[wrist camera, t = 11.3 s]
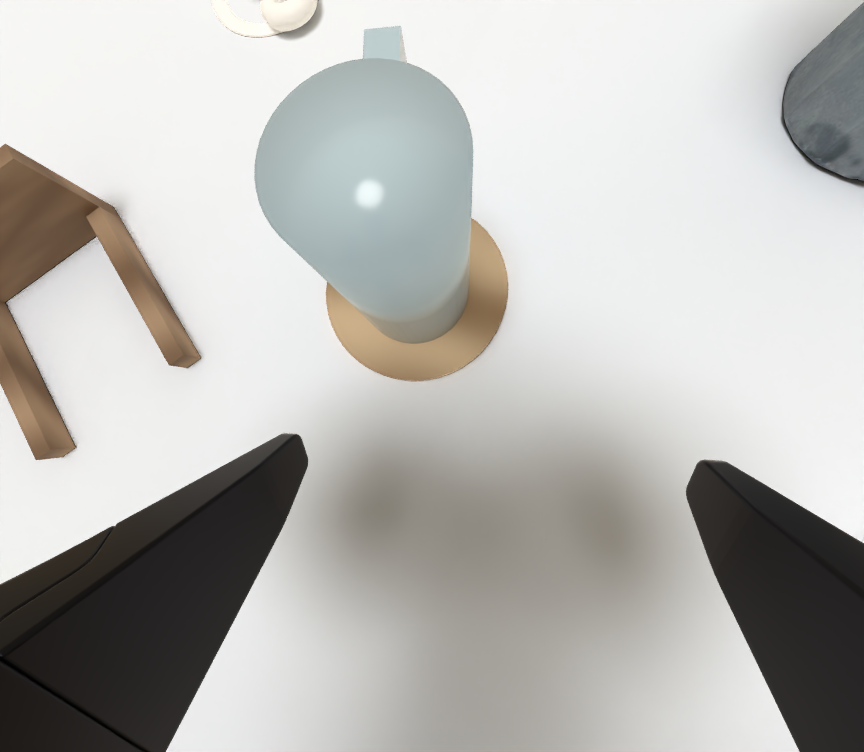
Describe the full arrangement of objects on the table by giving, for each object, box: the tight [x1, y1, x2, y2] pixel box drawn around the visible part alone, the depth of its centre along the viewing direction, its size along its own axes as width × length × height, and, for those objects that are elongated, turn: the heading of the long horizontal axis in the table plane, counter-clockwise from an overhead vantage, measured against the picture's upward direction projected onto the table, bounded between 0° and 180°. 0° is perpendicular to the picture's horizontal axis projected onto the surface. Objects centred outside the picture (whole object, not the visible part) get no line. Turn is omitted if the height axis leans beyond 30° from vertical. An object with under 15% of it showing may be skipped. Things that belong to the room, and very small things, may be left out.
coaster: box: [326, 218, 508, 381], centre depth 18 cm, size 10×10×1 cm
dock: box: [0, 144, 201, 460], centre depth 18 cm, size 12×10×5 cm
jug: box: [255, 26, 473, 344], centre depth 13 cm, size 9×6×10 cm, turn 179°
